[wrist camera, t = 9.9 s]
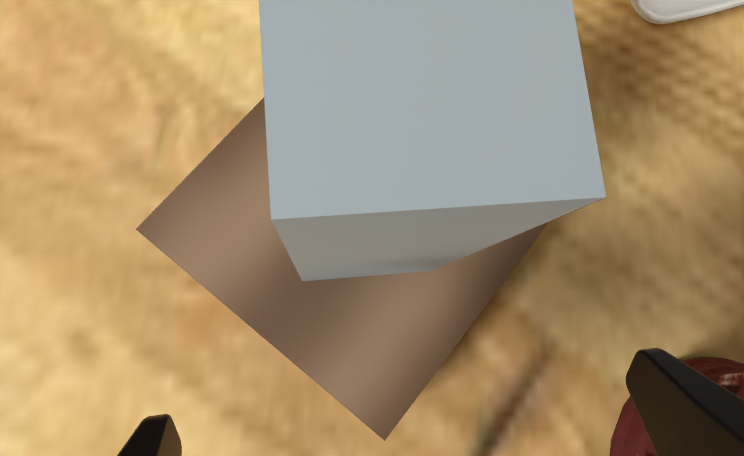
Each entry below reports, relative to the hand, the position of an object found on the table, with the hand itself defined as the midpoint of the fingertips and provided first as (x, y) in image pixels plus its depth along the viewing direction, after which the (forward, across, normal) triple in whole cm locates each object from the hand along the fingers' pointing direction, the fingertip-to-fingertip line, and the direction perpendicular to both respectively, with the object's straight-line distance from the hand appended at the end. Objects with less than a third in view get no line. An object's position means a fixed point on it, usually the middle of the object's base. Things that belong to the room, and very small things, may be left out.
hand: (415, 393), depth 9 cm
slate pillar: (+10, 0, +3) cm, 11 cm away
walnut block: (+13, 0, +5) cm, 14 cm away
